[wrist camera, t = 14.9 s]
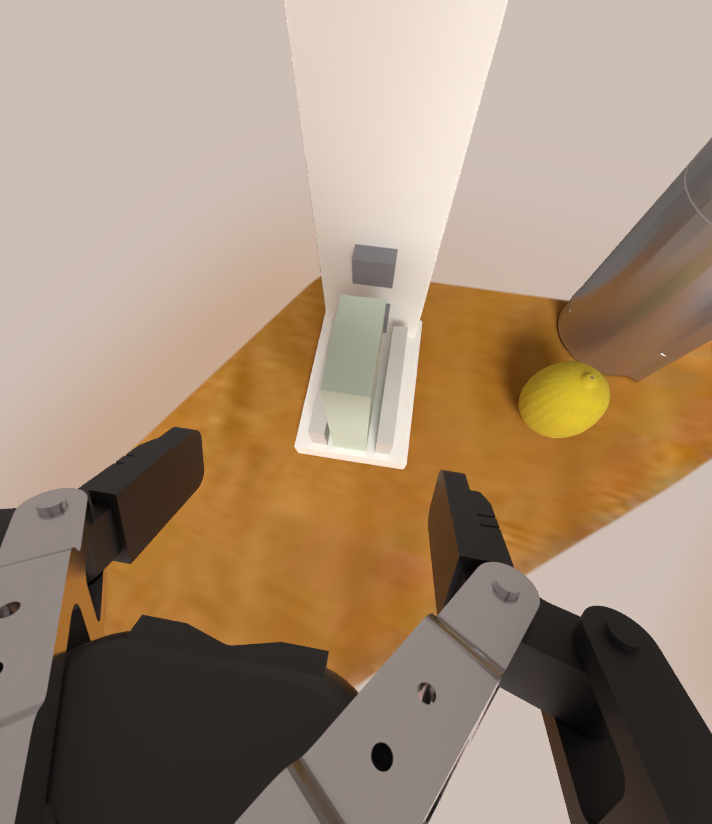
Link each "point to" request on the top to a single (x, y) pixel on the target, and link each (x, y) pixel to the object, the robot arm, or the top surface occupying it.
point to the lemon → (564, 399)
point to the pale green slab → (352, 370)
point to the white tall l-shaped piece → (384, 174)
